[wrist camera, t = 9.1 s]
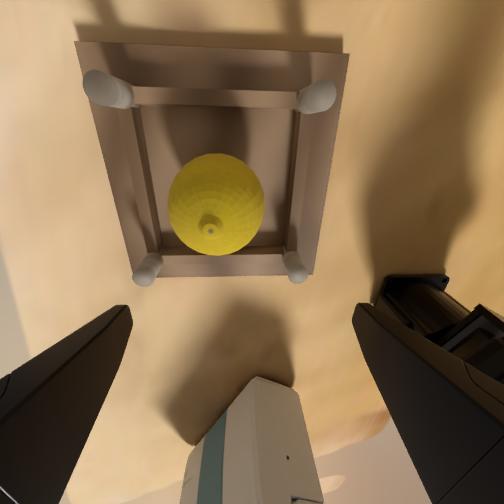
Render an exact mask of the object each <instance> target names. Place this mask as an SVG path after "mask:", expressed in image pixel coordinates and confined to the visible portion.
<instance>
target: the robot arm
mask: <svg viewBox="0 0 504 504" xmlns="http://www.w3.org/2000/svg"><path fill="white" fill-rule="evenodd" d="M390 280H391V281H390ZM449 280H450V279H449V277H448V276H446V275H444V274H433V275H390V276H387V277H386V278H385V280H384V283H383V286H382V289H381V292H380V295H379V298H378V301H377V304H376V307H374V306H372V305H371V304H369V303H358V304H357V305H356V307H355V310H354V314H353V317H352V324H353V327H354V330H355V333H356V336H357V339H358V341H359V344H360V347H361V350H362V353H363V356H364V358H365V361H366V363H367V365H368V367H369V370H370V372H371V374H372V376H373V378H374V380H375V382H376V385H377V387H378V389H379V391H380V393H381V395H382V397H383V400H384V402H385V404H386V406H387V408H388V410H389V412H390V415H391V417H392V419H393V421H394V423H395V425H396V427H397V429H398V432H399V434H400V436H401V438H402V440H403V442H404V444H405V447H406V449H407V451H408V453H409V455H410V457H411V459H412V462H413V464H414V466H415V468H416V470H417V472H418V475H419V477H420V479H421V481H422V483H423V485H424V487H425V490H426V492H427V494H428V496H429V498H430V500H431V502H432V504H504V317H502V316H501V315H499V314H497V313H495V312H494V311H492V310H490V309H488V308H487V307H485V306H483V305H481V304H480V303H479V304H478V305H477V306H476V307H475V308H474V310H473V311H472V312H470V311H469V310H468V309H467V308H465V307H464V306H463V305H461V304H460V303H459V302H458V301H456V300H455V299H454V298H453V297H451V296H450V295H449V294H447V293H446V292H445V291H444V290H445V288H446V286H447V284H448V282H449ZM132 327H133V320H132V316H131V312H130V308H129V306H128V305H115V306H114V307H112V308H111V309H109V310H107V311H106V312H104V313H103V314H101V315H100V316H98V317H97V318H95V319H93V320H92V321H90V322H89V323H87V324H86V325H84V326H83V327H81V328H79V329H78V330H76V331H75V332H73V333H72V334H70V335H68V336H67V337H65V338H64V339H62V340H61V341H59V342H58V343H56V344H54V345H53V346H51V347H50V348H48V349H47V350H45V351H43V352H42V353H40V354H39V355H37V356H36V357H34V358H33V359H31V360H29V361H28V362H26V363H25V364H23V365H22V366H20V367H18V368H17V369H15V370H14V371H12V373H11V374H7V375H6V376H4V377H3V378H1V379H0V504H59V502H60V500H61V497H62V495H63V493H64V491H65V488H66V486H67V484H68V482H69V479H70V477H71V475H72V473H73V470H74V468H75V466H76V464H77V461H78V459H79V457H80V455H81V452H82V450H83V448H84V446H85V443H86V441H87V439H88V437H89V434H90V432H91V430H92V428H93V425H94V423H95V421H96V419H97V416H98V414H99V412H100V410H101V407H102V405H103V403H104V401H105V398H106V396H107V394H108V392H109V389H110V387H111V385H112V383H113V380H114V378H115V376H116V373H117V371H118V369H119V366H120V364H121V361H122V358H123V355H124V352H125V349H126V346H127V342H128V339H129V336H130V333H131V330H132Z"/></svg>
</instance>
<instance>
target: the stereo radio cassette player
mask: <svg viewBox="0 0 504 504" xmlns="http://www.w3.org/2000/svg"><path fill="white" fill-rule="evenodd" d="M323 503H324V499H323V496H322V491H321V487H320V483H319V478H318V474H317V470H316V466H315V462H314V457H313V453H312V449H311V445H310V441H309V436H308V432H307V428H306V424H305V420H304V415H303V411H302V407H301V403H300V399H299V395H298V393H297V392H296V391H294V389H292V388H289V387H286V386H284V385H281V384H279V383H276V382H273V381H270V380H267V379H264V378H261V377H259V376H256V377H255V378H253V379H251V381H250V382H249V383H248V384H247V385H246V387H245V388H244V389H243V390H242V392H241V393H240V394H239V395H238V396H237V398H236V399H235V400H234V401H233V402H232V404H231V405H230V406H229V407H228V408H227V410H226V411H225V412H224V413H223V414H222V416H221V417H220V418H219V419H218V420H217V422H216V423H215V424H214V425H213V426H212V428H211V429H210V430H209V431H208V432H207V434H206V435H205V436H204V437H203V438H202V440H201V441H200V442H199V443H198V444H197V446H196V447H195V448H194V449H193V451H192V452H191V453H190V455H189V457H188V460H187V464H186V469H185V474H184V480H183V486H182V492H181V498H180V504H323Z"/></svg>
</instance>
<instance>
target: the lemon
mask: <svg viewBox="0 0 504 504" xmlns="http://www.w3.org/2000/svg"><path fill="white" fill-rule="evenodd" d="M167 207H168V215H169V220H170V222H171V225H172V227H173V230H174V232H175V233H176V234H177V236H178V237H179V238H180V240H181V241H182V242H184V243H185V244H186V245H187V246H188V247H190V248H192V249H193V250H195V251H197V252H200V253H203V254H206V255H215V256H220V255H227V254H231V253H233V252H236V251H238V250H240V249H241V248H242V247H244V246H245V245H247V244H248V243H249V242H250V241H251V239H252V238H253V237H254V236H255V235H256V233H257V231H258V229H259V227H260V225H261V223H262V220H263V215H264V210H265V201H264V192H263V189H262V186H261V183H260V181H259V179H258V178H257V176H256V175H255V173H254V171H253V170H252V169H251V168H250V167H248V166H247V165H246V164H245V163H244V162H243V161H241V160H239V159H237V158H235V157H233V156H230V155H226V154H222V153H216V154H206V155H202V156H199V157H196V158H195V159H193V160H192V161H190V162H189V163H187V164H186V165H184V166H183V168H182V169H181V170H180V171H179V172H178V173H177V175H176V176H175V178H174V180H173V182H172V185H171V187H170V189H169V195H168V203H167Z"/></svg>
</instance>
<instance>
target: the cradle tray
mask: <svg viewBox="0 0 504 504" xmlns="http://www.w3.org/2000/svg"><path fill="white" fill-rule="evenodd" d="M74 43H75V47H76V51H77V55H78V59H79V63H80V67H81V71H82V75H83V88H84V91H85V93H86V95H87V96H88V98H89V102H90V106H91V110H92V114H93V118H94V122H95V126H96V130H97V134H98V138H99V142H100V146H101V150H102V154H103V158H104V162H105V166H106V169H107V173H108V177H109V181H110V185H111V189H112V193H113V197H114V201H115V205H116V209H117V213H118V217H119V221H120V225H121V229H122V233H123V237H124V240H125V244H126V248H127V252H128V256H129V260H130V264H131V268H132V272H133V275H132V278H133V281H134V282H135V283H136V284H137V285H139V286H142V287H148V286H150V285H151V284H152V283H153V282H154V280H155V278H161V277H217V276H274V275H288V277H289V280H290V281H291V282H292V283H295V284H299V283H302V282H304V281H305V280H306V279H307V277H308V275H313V270H314V264H315V258H316V252H317V246H318V240H319V234H320V228H321V222H322V216H323V210H324V204H325V198H326V192H327V186H328V180H329V174H330V168H331V162H332V156H333V150H334V144H335V138H336V132H337V126H338V120H339V114H340V108H341V102H342V97H343V91H344V85H345V79H346V73H347V67H348V61H349V55H350V54H345V53H323V52H301V51H279V50H257V49H236V48H214V47H192V46H170V45H148V44H126V43H104V42H82V41H74ZM216 153H222V154H226V155H230V156H233V157H235V158H237V159H239V160H241V161H243V162H244V163H245V164H246V165H247V166H248V167H250V168H251V169H252V170H253V171H254V173H255V175H256V176H257V178H258V179H259V181H260V183H261V186H262V189H263V192H264V201H265V210H264V215H263V220H262V223H261V225H260V227H259V229H258V231H257V233H256V235H255V236H254V237H253V238H252V239H251V241H250V242H249V243H248V244H247V245H245V246H244V247H242V248H241V249H240V250H238V251H236V252H233V253H231V254H227V255H220V256H215V255H206V254H203V253H200V252H197V251H195V250H193V249H192V248H190V247H188V246H187V245H186V244H185V243H184V242H182V241H181V240H180V238H179V237H178V236H177V234H176V233H175V232H174V230H173V227H172V225H171V222H170V220H169V215H168V207H167V203H168V195H169V189H170V187H171V185H172V182H173V180H174V178H175V176H176V175H177V173H178V172H179V171H180V170H181V169H182V168H183V166H184V165H186V164H187V163H189V162H190V161H192V160H193V159H195V158H196V157H199V156H202V155H206V154H216Z"/></svg>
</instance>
